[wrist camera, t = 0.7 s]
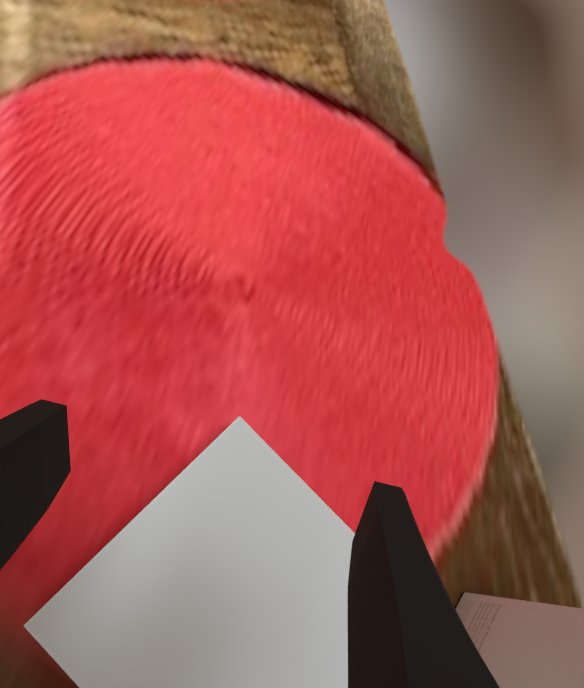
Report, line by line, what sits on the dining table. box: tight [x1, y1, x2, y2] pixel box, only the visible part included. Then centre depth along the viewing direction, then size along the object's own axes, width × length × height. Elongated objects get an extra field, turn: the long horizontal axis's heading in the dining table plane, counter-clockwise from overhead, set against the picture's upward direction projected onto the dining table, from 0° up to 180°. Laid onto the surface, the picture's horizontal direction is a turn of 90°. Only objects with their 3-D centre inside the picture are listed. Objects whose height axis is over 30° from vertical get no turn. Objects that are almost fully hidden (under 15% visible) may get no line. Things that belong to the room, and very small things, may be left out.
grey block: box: [24, 416, 355, 688], centre depth 23 cm, size 12×12×4 cm
